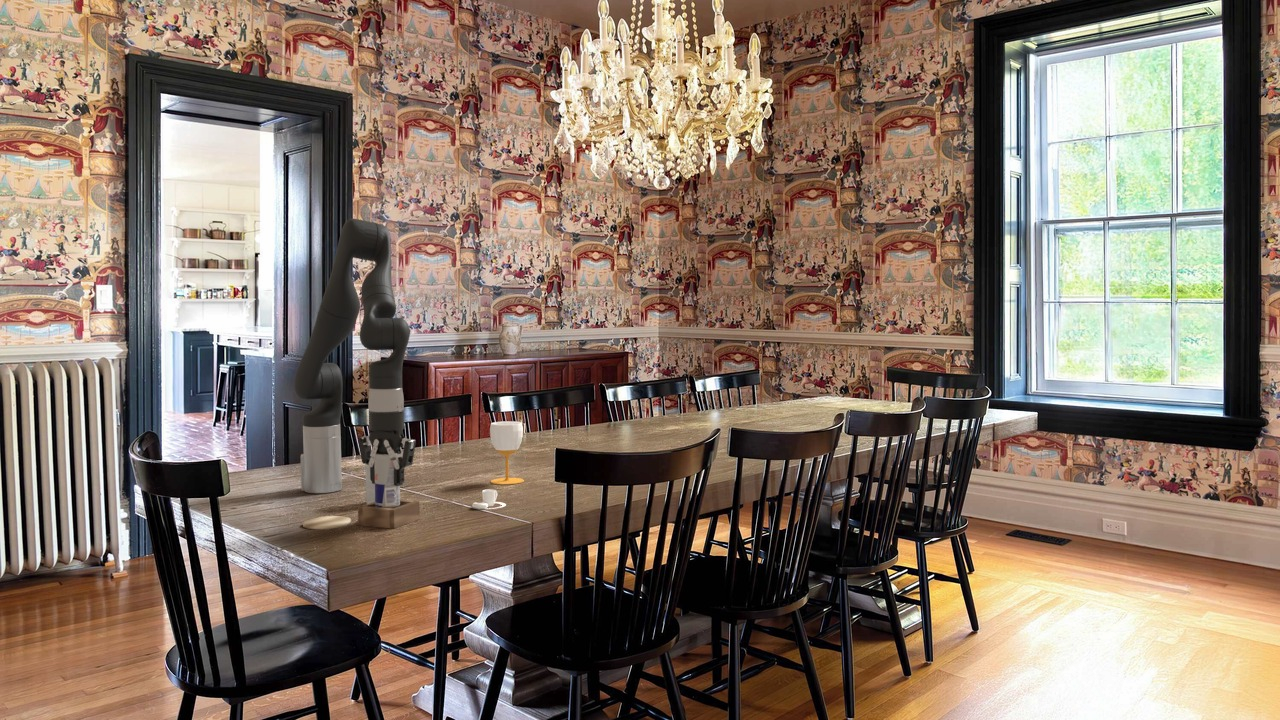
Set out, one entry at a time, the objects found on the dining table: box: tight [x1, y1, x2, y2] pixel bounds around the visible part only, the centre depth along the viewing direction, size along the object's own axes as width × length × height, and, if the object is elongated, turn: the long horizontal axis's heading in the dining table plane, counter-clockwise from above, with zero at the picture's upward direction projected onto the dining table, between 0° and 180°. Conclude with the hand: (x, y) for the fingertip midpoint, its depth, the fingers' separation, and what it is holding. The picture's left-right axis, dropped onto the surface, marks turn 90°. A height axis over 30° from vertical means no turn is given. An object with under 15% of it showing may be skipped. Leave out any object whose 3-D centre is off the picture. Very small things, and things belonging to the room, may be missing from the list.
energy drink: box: [374, 453, 401, 508], centre depth 201 cm, size 5×5×12 cm
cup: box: [489, 420, 525, 486], centre depth 247 cm, size 9×9×16 cm
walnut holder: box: [357, 499, 421, 529], centre depth 201 cm, size 9×9×4 cm
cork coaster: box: [302, 515, 352, 530], centre depth 200 cm, size 10×10×1 cm
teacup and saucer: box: [472, 488, 507, 510], centre depth 217 cm, size 9×8×4 cm
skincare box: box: [364, 464, 375, 504], centre depth 221 cm, size 6×4×12 cm
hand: (387, 484), depth 201 cm, fingers closed on energy drink, 5 cm apart
